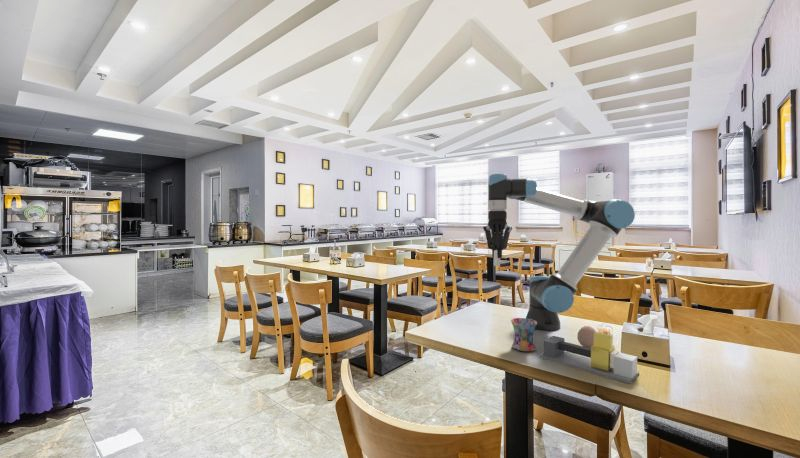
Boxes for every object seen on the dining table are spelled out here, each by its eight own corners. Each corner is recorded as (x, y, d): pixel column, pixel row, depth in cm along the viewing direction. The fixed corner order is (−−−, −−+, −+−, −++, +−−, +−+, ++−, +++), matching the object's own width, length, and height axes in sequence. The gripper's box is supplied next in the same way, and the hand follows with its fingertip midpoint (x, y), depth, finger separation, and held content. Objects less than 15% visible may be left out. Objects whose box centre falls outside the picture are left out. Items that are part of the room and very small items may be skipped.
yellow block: (597, 360, 121) (598, 330, 120) (614, 365, 117) (614, 333, 117) (590, 366, 116) (591, 334, 116) (607, 370, 113) (608, 338, 112)
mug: (530, 355, 129) (530, 326, 129) (506, 349, 136) (506, 321, 135) (543, 347, 138) (544, 319, 137) (521, 341, 144) (521, 315, 144)
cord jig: (551, 350, 134) (552, 332, 134) (639, 374, 114) (639, 353, 113) (539, 357, 127) (539, 338, 127) (629, 383, 107) (630, 361, 107)
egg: (597, 346, 139) (597, 324, 139) (599, 352, 132) (599, 329, 132) (576, 343, 142) (577, 322, 142) (577, 349, 135) (577, 327, 135)
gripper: (479, 210, 155) (479, 264, 155) (506, 210, 145) (505, 267, 146) (489, 210, 160) (488, 263, 160) (516, 210, 150) (515, 266, 151)
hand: (497, 265), depth 153 cm, fingers closed
